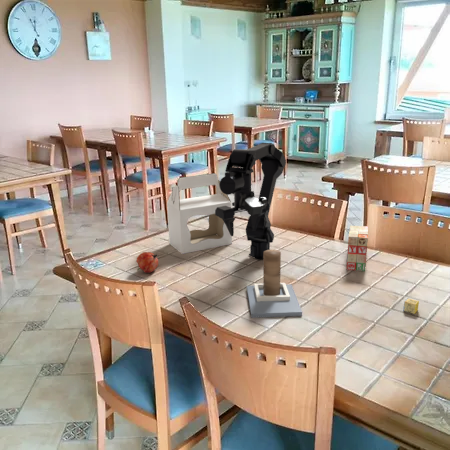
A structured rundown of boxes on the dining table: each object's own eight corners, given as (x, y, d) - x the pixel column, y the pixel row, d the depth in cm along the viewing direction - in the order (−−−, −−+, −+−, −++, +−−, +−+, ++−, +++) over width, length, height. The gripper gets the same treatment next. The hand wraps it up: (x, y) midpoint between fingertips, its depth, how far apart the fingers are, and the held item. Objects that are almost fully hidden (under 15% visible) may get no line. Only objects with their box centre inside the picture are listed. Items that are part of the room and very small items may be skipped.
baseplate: (246, 289, 144) (246, 282, 143) (291, 287, 144) (291, 280, 143) (251, 317, 126) (251, 309, 126) (302, 315, 127) (302, 308, 126)
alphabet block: (406, 307, 130) (407, 297, 129) (418, 310, 128) (419, 300, 127) (403, 311, 128) (404, 301, 127) (414, 314, 126) (415, 304, 125)
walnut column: (262, 289, 140) (262, 249, 136) (278, 289, 140) (279, 249, 136) (264, 297, 135) (264, 255, 131) (281, 296, 135) (281, 255, 131)
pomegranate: (136, 281, 157) (156, 267, 152) (125, 263, 157) (144, 248, 153) (148, 275, 163) (167, 261, 159) (137, 258, 164) (156, 244, 160)
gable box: (217, 235, 195) (215, 169, 187) (232, 243, 184) (231, 175, 176) (168, 244, 185) (164, 175, 177) (181, 254, 174) (177, 182, 166)
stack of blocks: (349, 248, 176) (350, 217, 172) (366, 250, 174) (368, 218, 170) (346, 270, 156) (348, 235, 153) (365, 271, 155) (368, 237, 151)
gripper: (233, 196, 139) (234, 245, 144) (280, 188, 149) (279, 233, 154) (213, 190, 148) (215, 236, 153) (259, 182, 158) (259, 226, 163)
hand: (243, 233), depth 155 cm, fingers open, 9 cm apart
